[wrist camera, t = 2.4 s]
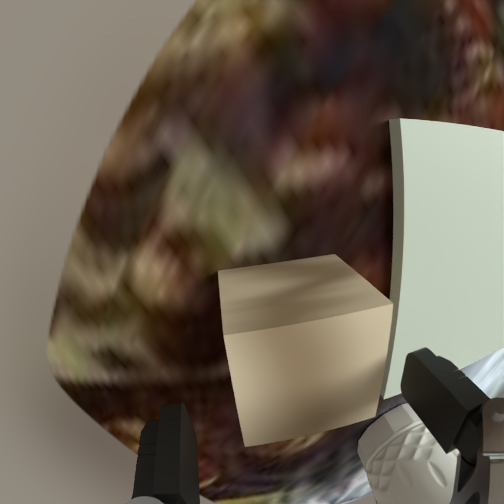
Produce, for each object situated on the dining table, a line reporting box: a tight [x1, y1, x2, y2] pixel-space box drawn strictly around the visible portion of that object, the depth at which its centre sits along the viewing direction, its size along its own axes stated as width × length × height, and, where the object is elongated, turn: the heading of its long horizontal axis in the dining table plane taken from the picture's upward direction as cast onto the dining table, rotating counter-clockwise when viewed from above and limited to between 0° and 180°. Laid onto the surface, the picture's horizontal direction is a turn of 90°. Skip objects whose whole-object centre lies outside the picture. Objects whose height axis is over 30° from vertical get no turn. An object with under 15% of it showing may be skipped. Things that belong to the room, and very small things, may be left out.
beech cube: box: [218, 254, 393, 447], centre depth 13 cm, size 6×6×6 cm
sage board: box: [380, 119, 504, 399], centre depth 16 cm, size 16×16×1 cm
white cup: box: [357, 403, 459, 504], centre depth 15 cm, size 8×8×10 cm
